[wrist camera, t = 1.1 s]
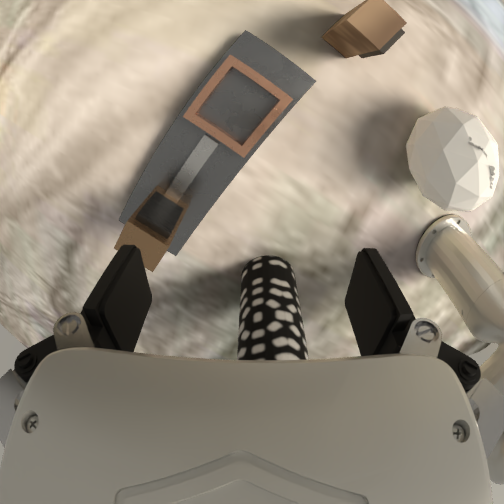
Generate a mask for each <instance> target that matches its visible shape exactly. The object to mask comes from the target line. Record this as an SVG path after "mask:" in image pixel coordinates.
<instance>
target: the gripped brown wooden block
mask: <svg viewBox="0 0 504 504" xmlns="http://www.w3.org/2000/svg"><path fill="white" fill-rule="evenodd" d="M405 24H406V22H405V21H404V19H403V18H402V17H401V16H400V15H399V14H398V13H397V12H396V11H395V10H393V9H392V8H391V7H390V6H389V5H388V4H387V3H386V2H385V1H384V0H365V1H364V2H362V3H361V4H359V5H358V6H356V7H355V8H354V9H352V10H351V11H349V12H348V13H346V14H345V15H344V16H343V17H342V18H341V19H340V20H339V21H337V22H336V23H335V24H334V25H333V26H332V27H331V28H330V29H329V30H328V31H327V32H326V33H325V34H324V35H323V36H322V38H323V39H324V40H325V41H326V42H328V43H329V44H330V45H331V46H333V47H334V48H335V49H336V50H337V51H338V52H340V53H341V54H342V55H343V56H344V57H345V58H349V57H353V56H356V55H359V56H360V57H361V58H365V57H370V56H375V55H381V54H384V53H385V52H386V51H387V50H388V49H389V48H390V47H391V46H392V45H393V44H394V43H395V42H396V41H397V40H398V39H399V38H400V37H401V36H402V35H403V34H404V33H405V32H404V31H403V30H402V29H401V28H402V27H403V26H404V25H405Z"/></svg>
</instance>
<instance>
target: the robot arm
mask: <svg viewBox="0 0 504 504" xmlns="http://www.w3.org/2000/svg"><path fill="white" fill-rule="evenodd" d="M416 263H417V266H418V268H419V269H420V271H421V272H422V273H423V274H424V275H425V276H427V277H430V278H436V279H437V280H438V282H439V283H440V285H441V286H442V288H443V289H444V291H445V292H446V294H447V295H448V297H449V298H450V300H451V301H452V303H453V304H454V306H455V307H456V309H457V310H458V312H459V314H460V315H461V317H462V319H463V320H464V322H465V324H466V325H467V327H468V328H469V330H470V332H471V333H472V335H473V336H474V337H476V338H477V339H478V340H481V341H483V342H488V343H497V344H498V345H499V346H498V348H497V350H496V351H495V352H494V353H493V354H492V355H491V357H490V358H489V359H488V360H486V361H485V362H484V363H483V364H482V365H481V366H480V367H479V366H478V364H477V363H476V361H475V360H473V359H472V358H470V357H469V356H467V355H465V354H463V353H462V352H460V351H458V350H456V349H455V348H453V347H451V346H449V345H447V344H446V343H444V342H442V332H441V330H440V328H439V326H438V325H437V324H436V323H434V322H433V321H431V320H429V319H426V318H418V319H415V317H414V315H413V312H412V310H411V308H410V306H409V304H408V302H407V301H406V299H405V297H404V295H403V293H402V292H401V290H400V288H399V286H398V284H397V283H396V281H395V279H394V278H393V276H392V274H391V272H390V271H389V269H388V267H387V266H386V264H385V262H384V261H383V259H382V257H381V256H380V254H379V253H378V251H377V250H376V249H373V248H363V249H362V251H361V252H358V254H357V258H356V262H355V266H354V269H353V273H352V277H351V280H350V284H349V287H348V291H347V294H346V297H345V306H346V309H347V312H348V315H349V319H350V322H351V325H352V328H353V331H354V334H355V337H356V341H357V344H358V347H359V350H360V354H361V356H358V357H344V358H330V359H310V360H222V359H202V358H187V357H175V356H164V355H154V354H145V353H136V352H134V349H135V346H136V343H137V340H138V338H139V335H140V332H141V329H142V326H143V324H144V321H145V318H146V316H147V313H148V310H149V308H150V305H151V302H152V294H151V291H150V287H149V283H148V279H147V276H146V272H145V268H144V264H143V259H142V255H141V251H140V249H139V248H137V247H136V245H122V246H121V247H120V249H119V250H118V252H117V253H116V255H115V256H114V258H113V259H112V261H111V262H110V264H109V265H108V267H107V268H106V270H105V271H104V273H103V275H102V276H101V278H100V279H99V281H98V282H97V284H96V286H95V287H94V289H93V291H92V292H91V294H90V296H89V297H88V299H87V301H86V302H85V304H84V306H83V310H82V311H81V313H77V312H70V313H66V314H64V315H63V316H61V317H60V318H59V319H58V320H57V321H56V323H55V325H54V328H53V332H54V335H52V336H50V337H48V338H46V339H44V340H43V341H41V342H39V343H37V344H35V345H33V346H31V347H29V348H28V349H26V350H24V351H23V352H21V353H20V354H19V356H18V357H17V359H16V361H15V369H14V370H13V371H12V369H10V370H9V371H8V372H7V373H6V374H4V375H3V376H2V377H1V378H0V441H1V443H2V444H3V446H4V448H5V449H4V453H3V457H2V462H1V468H0V504H493V498H492V490H491V482H490V480H491V481H492V482H494V483H496V484H504V272H503V271H502V270H501V269H500V268H499V267H498V266H497V264H496V263H495V262H494V261H493V260H492V259H491V258H490V257H489V256H488V255H487V253H486V252H485V251H484V250H483V249H482V248H481V247H480V246H479V245H478V244H477V243H476V242H475V241H474V240H473V239H472V238H471V229H470V227H469V224H468V223H467V222H466V221H465V220H464V219H463V218H462V217H460V216H457V215H448V216H444V217H442V218H440V219H438V220H437V221H435V222H434V223H433V224H432V225H431V226H430V227H429V228H428V229H427V230H426V231H425V233H424V234H423V236H422V238H421V239H420V242H419V244H418V247H417V250H416Z"/></svg>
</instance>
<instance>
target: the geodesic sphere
mask: <svg viewBox="0 0 504 504" xmlns="http://www.w3.org/2000/svg"><path fill="white" fill-rule="evenodd" d="M406 150H407V157H408V164H409V170H410V172H411V174H412V176H413V178H414V179H415V181H416V183H417V185H418V187H419V189H420V191H421V193H422V195H423V196H424V197H426V198H427V199H429V200H430V201H432V202H433V203H435V204H436V205H438V206H439V207H441V208H442V209H443V210H448V211H465V212H471V211H472V210H474V209H475V208H477V207H478V206H480V205H481V204H483V203H484V202H486V201H487V200H488V199H490V198H491V197H492V195H493V193H494V190H495V187H496V184H497V181H498V177H499V157H498V144H497V142H496V141H495V139H494V138H493V137H492V135H491V134H490V133H489V131H488V130H487V129H486V127H485V126H484V125H483V123H482V122H481V121H480V120H479V118H478V117H477V116H475V115H473V114H470V113H468V112H466V111H463V110H461V109H458V108H452V107H446V106H445V107H443V108H440V109H438V110H436V111H433V112H431V113H429V114H426V115H424V116H422V117H420V118H418V119H417V122H416V124H415V126H414V128H413V130H412V133H411V135H410V137H409V139H408V141H407V143H406Z"/></svg>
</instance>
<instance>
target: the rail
mask: <svg viewBox="0 0 504 504" xmlns="http://www.w3.org/2000/svg"><path fill="white" fill-rule="evenodd" d="M315 82H316V81H315V80H314V79H313V78H312V77H311V76H309V75H308V74H307V73H306V72H304V71H303V70H302V69H301V68H299V67H298V66H297V65H295V64H294V63H293V62H292V61H290V60H289V59H288V58H286V57H285V56H283V55H282V54H281V53H279V52H278V51H276V50H275V49H274V48H272V47H271V46H269V45H268V44H266V43H265V42H263V41H262V40H260V39H259V38H257V37H256V36H254V35H253V34H251V33H249V32H248V31H246V30H245V32H244V33H243V34H242V35H241V36H240V37H239V38H238V39H237V40H236V42H235V43H234V44H233V45H232V46H231V47H230V48H229V50H228V51H227V52H226V53H225V54H224V55H223V57H222V58H221V59H220V60H219V62H218V63H217V64H216V65H215V66H214V68H213V69H212V70H211V72H210V73H209V74H208V75H207V77H206V78H205V79H204V81H203V82H202V83H201V85H200V86H199V87H198V89H197V90H196V91H195V93H194V94H193V95H192V97H191V98H190V100H189V101H188V102H187V104H186V105H185V107H184V108H183V110H182V111H181V112H180V114H179V115H178V117H177V118H176V120H175V121H174V123H173V124H172V126H171V127H170V129H169V131H168V132H167V134H166V135H165V137H164V138H163V140H162V142H161V143H160V145H159V147H158V148H157V150H156V151H155V153H154V155H153V157H152V158H151V160H150V162H149V163H148V165H147V167H146V169H145V170H144V172H143V174H142V176H141V178H140V179H139V181H138V183H137V185H136V187H135V189H134V191H133V192H132V194H131V196H130V198H129V200H128V202H127V204H126V206H125V208H124V210H123V212H122V214H121V216H120V218H119V221H121V222H122V223H124V224H125V226H124V228H123V230H122V232H121V235H120V237H119V239H118V241H117V243H116V245H115V247H114V249H116V250H119V249H120V247H121V246H122V245H136V247H137V248H139V249H140V251H141V255H142V259H143V264H144V267H145V268H147V269H148V270H150V271H152V272H153V271H154V269H155V268H156V266H157V265H158V263H159V262H160V260H161V259H162V257H163V256H164V254H165V252H166V251H168V252H170V253H172V254H173V255H175V256H176V255H177V254H178V252H179V251H180V250H181V248H182V247H183V245H184V244H185V242H186V241H187V240H188V238H189V237H190V236H191V234H192V233H193V231H194V230H195V229H196V227H197V226H198V225H199V223H200V222H201V221H202V219H203V218H204V216H205V215H206V214H207V212H208V211H209V210H210V208H211V207H212V206H213V204H214V203H215V202H216V201H217V199H218V198H219V197H220V195H221V194H222V193H223V191H224V190H225V189H226V188H227V186H228V185H229V184H230V182H231V181H232V180H233V179H234V177H235V176H236V175H237V173H238V172H239V171H240V170H241V168H242V167H243V166H244V165H245V163H246V162H247V161H248V160H249V159H250V157H251V156H252V155H253V154H254V152H255V151H256V150H257V149H258V148H259V146H260V145H261V144H262V143H263V141H264V140H265V139H266V138H267V137H268V136H269V134H270V133H271V132H272V131H273V130H274V128H275V127H276V126H277V125H278V124H279V123H280V121H281V120H282V119H283V118H284V117H285V116H286V114H287V113H288V112H289V111H290V110H291V109H292V108H293V106H294V105H295V104H296V103H297V102H298V101H299V100H300V99H301V98H302V96H303V95H304V94H305V93H306V92H307V91H308V90H309V89H310V88H311V86H312V85H313V84H314V83H315Z"/></svg>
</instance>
